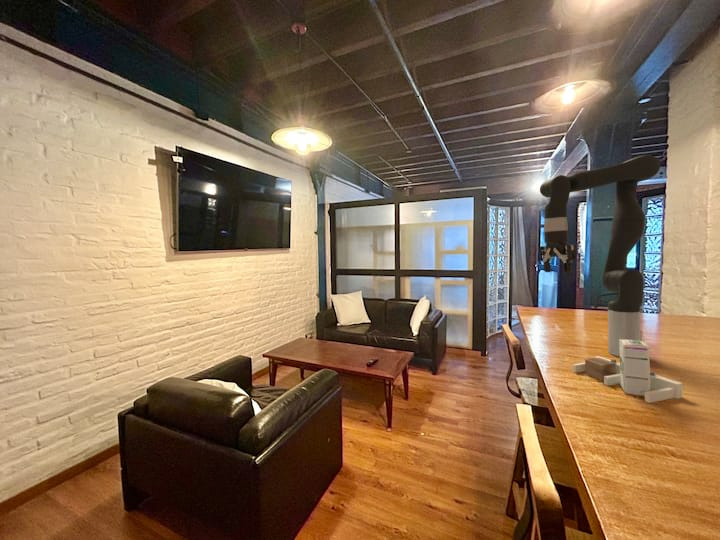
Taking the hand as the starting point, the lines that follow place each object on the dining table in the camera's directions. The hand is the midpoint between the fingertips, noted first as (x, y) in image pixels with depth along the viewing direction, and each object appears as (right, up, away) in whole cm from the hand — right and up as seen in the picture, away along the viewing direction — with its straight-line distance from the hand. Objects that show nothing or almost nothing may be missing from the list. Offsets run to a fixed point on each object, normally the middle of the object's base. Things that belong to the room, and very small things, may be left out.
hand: (556, 272), depth 113 cm
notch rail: (+5, -34, -22) cm, 41 cm away
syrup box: (+4, -35, -27) cm, 44 cm away
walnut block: (+3, -34, -17) cm, 38 cm away
